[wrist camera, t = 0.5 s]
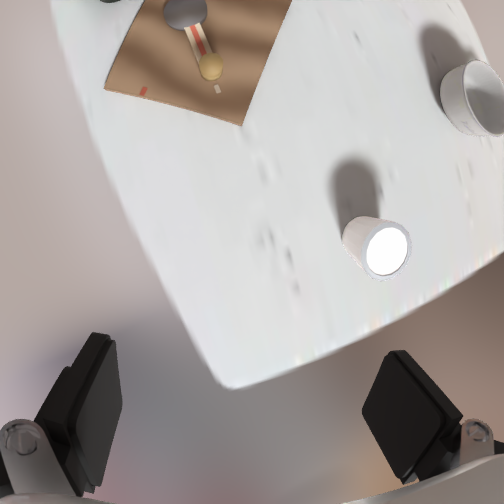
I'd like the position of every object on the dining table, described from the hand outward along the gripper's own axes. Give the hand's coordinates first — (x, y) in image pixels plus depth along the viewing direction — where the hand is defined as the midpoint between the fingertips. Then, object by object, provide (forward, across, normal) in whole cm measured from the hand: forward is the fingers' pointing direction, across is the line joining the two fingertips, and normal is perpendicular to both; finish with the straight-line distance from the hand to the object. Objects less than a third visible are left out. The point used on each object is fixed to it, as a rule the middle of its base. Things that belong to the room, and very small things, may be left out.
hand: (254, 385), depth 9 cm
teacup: (+28, -32, -24) cm, 49 cm away
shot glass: (+28, -17, 0) cm, 33 cm away
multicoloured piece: (+26, +7, -21) cm, 35 cm away
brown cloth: (+28, +6, -23) cm, 37 cm away
